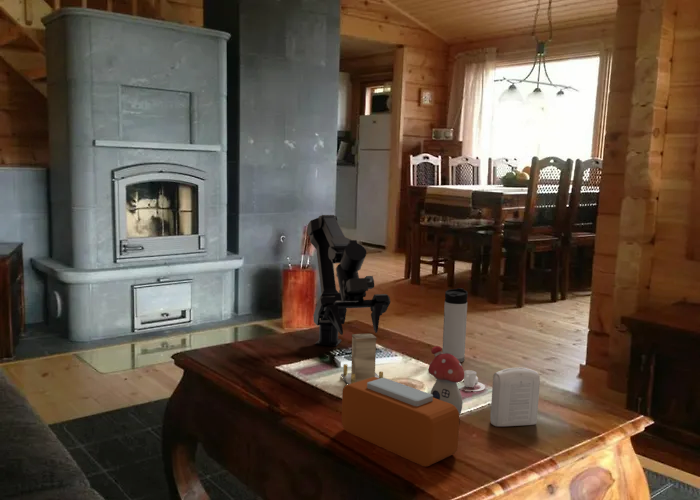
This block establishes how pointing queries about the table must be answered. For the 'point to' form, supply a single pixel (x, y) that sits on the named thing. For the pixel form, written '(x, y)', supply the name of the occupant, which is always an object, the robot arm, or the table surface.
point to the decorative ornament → (446, 377)
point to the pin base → (351, 377)
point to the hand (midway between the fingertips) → (359, 333)
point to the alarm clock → (401, 419)
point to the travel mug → (455, 323)
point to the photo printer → (515, 397)
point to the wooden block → (363, 356)
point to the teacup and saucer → (472, 380)
